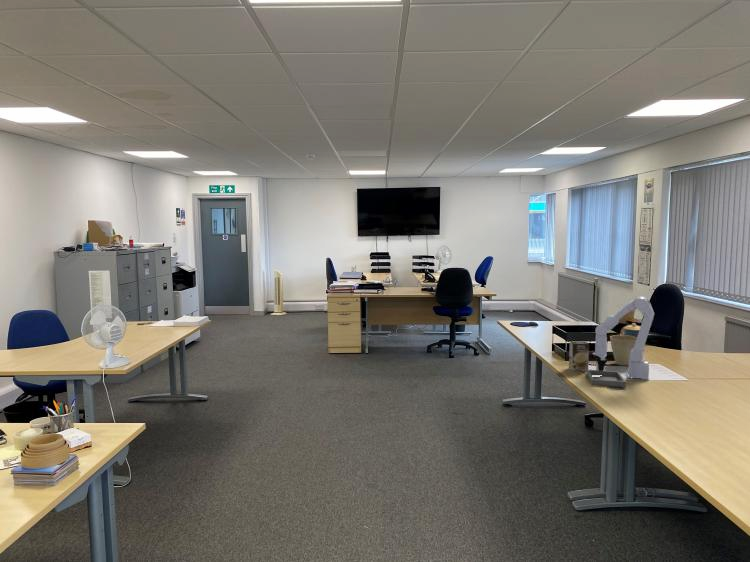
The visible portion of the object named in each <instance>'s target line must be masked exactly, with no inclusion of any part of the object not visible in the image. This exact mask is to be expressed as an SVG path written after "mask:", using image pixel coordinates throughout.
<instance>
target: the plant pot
mask: <svg viewBox="0 0 750 562" xmlns="http://www.w3.org/2000/svg"><path fill="white" fill-rule="evenodd" d="M609 339H610V347H611V350H612V351H611V352H612V355H613V358H614V361H615V363H616V364H617V365H619V364H621V365H620V366H629V359H630V357H629V355H630V353H631V350H632V349H633V348H634V346H635V343H636V340H637V338H636V337H633V336H627V335H623V334H616V335H610V336H609Z"/></svg>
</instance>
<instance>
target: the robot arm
mask: <svg viewBox="0 0 750 562" xmlns="http://www.w3.org/2000/svg"><path fill="white" fill-rule="evenodd" d="M636 310H638V312H640V313H641V314H642V315H643V319H642V321H641V325H640V330H639V333H638V336H637V340H636V343H635V346H634V348H633V349H632V350H631V353H630V355H629V357H630V359H629V365H628V375H629V377H628V378H629V379H633V378H641V379H640V380H649V377H650V376H649V374H650V373H649V372H650V364H649V362H648V361H645V360H644V354H645V352H644V350H643V348H644V349H645V344H646V342H647V339H648V335H649V332H650V330H651V329H650V328H651V326H652V323H653V321H654V316H655V312H654V309H653V307H652V304H651V302H650V300H649V299H648V298H647V297H646V296H643V295H639V296H637V297H636V298H635V299H633V300H631V301H630V302H628V303H626V304H625V306H623V307H622V308H621V309H619V311H618V312H616V313H615V314H614V315H611V314H610V315H608V316H606V319H605V320H603V321H601V322H599V324H598V325H597V326H596V327H595V331H594V332H595V343H594V344H595V346H594V348H595V349H594V350H595V351H594V352H592V355H593V356H594V359H595V362H596V361H597V362H598V369H599V370H600V371H603V370H604V366H606V364H607V362H608V359H607V358H606V357H607V355H608V354H607V347H608V346H607V344H608V337H607V333H608V332H609V331H611V330H613V329H614V328H615V326H617V325H618V324H620V323H619V320H620V319H621V318H623V317H624V316H625V315H627V314H628V313H629V312H631V311H636ZM631 377H632V378H631Z"/></svg>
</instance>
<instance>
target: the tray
mask: <svg viewBox="0 0 750 562" xmlns="http://www.w3.org/2000/svg"><path fill="white" fill-rule="evenodd" d="M592 375H602V376H600V377H592ZM586 376H587V378H588V380H589V383H590V385H591V386H598V387H613V388H615V387H616V388H627V381H626V379H625V378H624V377H623V376H622V374H621V373H620V371H614V370H605V371H600V370H596V369H595V370H594V369H588V370H587V371H586Z"/></svg>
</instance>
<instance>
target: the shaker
mask: <svg viewBox="0 0 750 562" xmlns="http://www.w3.org/2000/svg"><path fill="white" fill-rule="evenodd" d="M605 366H606V365H605ZM605 366H604V370H603V371H606V369H605V368H606V367H605ZM595 370H599V369H598V362H597V361H596V360H595Z"/></svg>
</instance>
